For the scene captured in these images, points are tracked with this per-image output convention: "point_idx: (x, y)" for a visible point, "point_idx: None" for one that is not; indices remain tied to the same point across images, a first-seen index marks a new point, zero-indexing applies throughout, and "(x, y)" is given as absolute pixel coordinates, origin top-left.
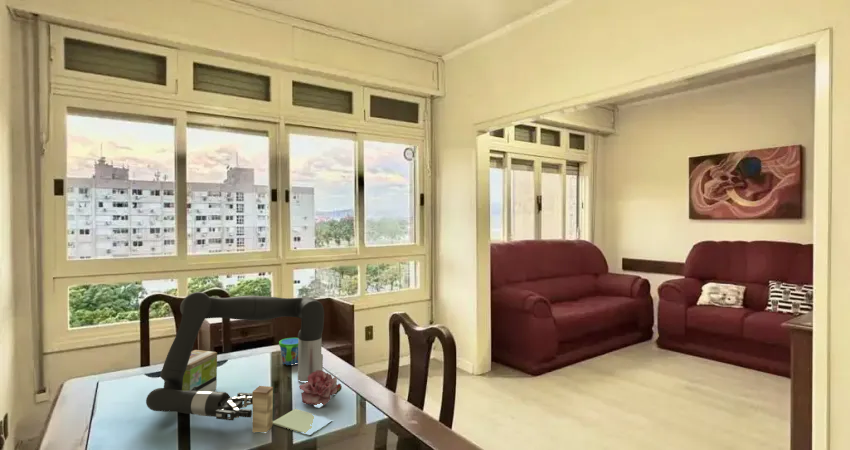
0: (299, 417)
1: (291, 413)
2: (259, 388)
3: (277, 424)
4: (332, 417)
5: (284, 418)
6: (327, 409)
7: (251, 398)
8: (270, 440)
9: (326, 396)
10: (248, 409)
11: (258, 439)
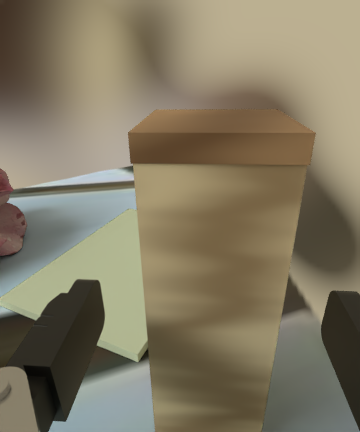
0: (100, 269)
1: (50, 300)
2: (205, 125)
3: None
4: (103, 216)
5: None
6: (40, 230)
7: (32, 400)
8: (299, 317)
9: (4, 200)
10: (344, 309)
11: (319, 370)
